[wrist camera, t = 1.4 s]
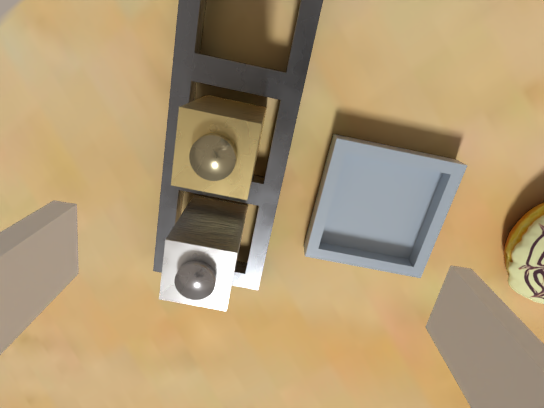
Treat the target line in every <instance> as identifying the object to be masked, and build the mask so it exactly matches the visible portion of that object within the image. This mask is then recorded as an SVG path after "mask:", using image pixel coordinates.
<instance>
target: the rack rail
mask: <svg viewBox="0 0 544 408" xmlns="http://www.w3.org/2000/svg"><path fill="white" fill-rule="evenodd" d="M322 3H323V0H301V1H300V6H299V11H298V16H297V21H296V26H295V31H294V36H293V41H292V46H291V50H290V55H289V60H288V65H287V70H286V72H282V71H277V70H273V69H268V68H263V67H259V66H254V65H250V64H245V63H240V62H236V61H231V60H227V59H222V58H217V57H213V56H208V55H203V54H200V49H201V41H202V32H203V24H204V15H205V7H206V0H179V4H178V14H177V25H176V36H175V46H174V57H173V67H172V78H171V89H170V99H169V110H168V120H167V131H166V141H165V152H164V163H163V173H162V184H161V194H160V205H159V216H158V226H157V237H156V247H155V258H154V269H153V271H156V272H161V273H162V267H163V257H164V248H165V239H166V238H167V236H168V235H169V233H170V232H171V230H172V229H173V227H174V225H175V224H176V222H177V221H178V219H179V218H180V216H181V208H182V200H183V192H184V191H186V192H191V193H196V194H202V195H207V196H212V197H217V198H222V199H227V200H232V201H237V202H242V203H248V204H253V205H258V206H259V207H258V212H257V217H256V222H255V227H254V232H253V237H252V242H251V247H250V251H249V256H248V261H247V263H245V262H239V261H237V263H236V268H235V273H234V277H233V282H232V285H233V286H238V287H244V288H249V289H255V290H258V289H259V284H260V280H261V275H262V271H263V266H264V262H265V257H266V253H267V248H268V244H269V239H270V235H271V231H272V226H273V222H274V217H275V213H276V208H277V204H278V199H279V195H280V190H281V186H282V181H283V177H284V173H285V168H286V164H287V159H288V155H289V150H290V146H291V141H292V137H293V132H294V128H295V123H296V119H297V115H298V110H299V106H300V101H301V97H302V92H303V88H304V83H305V79H306V74H307V70H308V65H309V61H310V57H311V52H312V48H313V43H314V39H315V34H316V30H317V25H318V21H319V16H320V12H321V7H322ZM197 82H199V83H204V84H208V85H213V86H218V87H223V88H227V89H232V90H237V91H241V92H246V93H251V94H255V95H260V96H265V97H270V98H274V99H279V100H280V104H279V109H278V114H277V119H276V124H275V129H274V134H273V139H272V144H271V149H270V153H269V158H268V163H267V168H266V173H265V177H261V176H256V175H253V178H252V182H251V186H250V191H249V195H248V199H247V200H244V199H239V198H234V197H228V196H223V195H218V194H213V193H208V192H203V191H198V190H193V189H188V188H182V187H177V186H172V185H171V179H172V169H173V160H174V150H175V141H176V131H177V122H178V112H179V107H180V106H182V105H185V104H187V103H189V102H192V101H194V99H195V91H196V83H197Z"/></svg>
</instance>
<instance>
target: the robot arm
mask: <svg viewBox="0 0 544 408" xmlns="http://www.w3.org/2000/svg"><path fill="white" fill-rule="evenodd" d="M77 275H78V233H77V204H73V203H67V202H61V201H55V200H54V201H52V202H50V203H49V204H47V205H45V206H44V207H42V208H40V209H39V210H37V211H35V212H33V213H32V214H30V215H28V216H27V217H25V218H23V219H22V220H20V221H18V222H17V223H15V224H13V225H12V226H10V227H8V228H7V229H5V230H3V231H2V232H0V355H1V354H2V353H3V352H4V350H5V349H6V348H7V347H8V346H9V345H10V344H11V343H12V342H13V341H14V340H15V339H16V338H17V337H18V336H19V335H20V334H21V333H22V332H23V331H24V330H25V329H26V328H27V327H28V326H29V324H30V323H31V322H32V321H33V320H34V319H35V318H36V317H37V316H38V315H39V314H40V313H41V312H42V311H43V310H44V309H45V308H46V307H47V306H48V305H49V304H50V303H51V302H52V301H53V300H54V299H55V297H56V296H57V295H58V294H59V293H60V292H61V291H62V290H63V289H64V288H65V287H66V286H67V285H68V284H69V283H70V282H71V281H72V280H73V279H74V278H75V277H76V276H77ZM426 329H427V331H428V333H429V334H430V336H431V338H432V340H433V341H434V343H435V345H436V347H437V348H438V350H439V352H440V354H441V355H442V357H443V359H444V361H445V362H446V364H447V366H448V368H449V369H450V371H451V373H452V375H453V376H454V378H455V380H456V382H457V384H458V385H459V387H460V389H461V391H462V392H463V394H464V396H465V398H466V399H467V401H468V403H469V405H470V406H471V408H544V344H543V343H542V342H541V341H540V340H539V339H538V338H537V337H536V336H535V335H534V334H533V332H532V331H531V330H530V329H529V328H528V327H527V326H526V325H525V324H524V323H523V322H522V321H521V320H520V319H519V318H518V317H517V316H516V315H515V314H514V313H513V312H512V311H511V310H510V309H509V307H508V306H507V305H506V304H505V303H504V302H503V301H502V300H501V299H500V298H499V297H498V296H497V295H496V294H495V293H494V292H493V291H492V290H491V289H490V288H489V287H488V286H487V285H486V284H485V282H484V281H483V280H482V279H481V278H480V277H479V276H478V275H477V274H476V273H475V272H474V271H473V270H472V269H470V268H464V267H458V266H452V265H451V266H450V268H449V271H448V273H447V276H446V278H445V280H444V283H443V285H442V288H441V290H440V293H439V295H438V298H437V300H436V303H435V305H434V308H433V310H432V312H431V315H430V317H429V320H428V322H427V325H426Z"/></svg>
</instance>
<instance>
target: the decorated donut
mask: <svg viewBox="0 0 544 408" xmlns="http://www.w3.org/2000/svg"><path fill="white" fill-rule="evenodd" d="M504 259H505V266H506V269H507V272H508V275H509V278H508V283H509V286H510V287H511V288H512V289H513V290H514V291H515V292H517V293H518V294H520V295H522V296H524V297H526V298H528V299H530V300H532V301H534V302H538V303H542V304H544V203H542V204H539V205H537V206H536V207H534V208H532V209H531V210H529V211H528V212H527V213H526V214H524V216H523V217H522V218H521V219H520V220H519V221H518V222H517V223H516V224H515V226H514V227H513V228H512V230H511V231H510V233H509V235H508V237H507V241H506V244H505V248H504Z"/></svg>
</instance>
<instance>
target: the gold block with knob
mask: <svg viewBox="0 0 544 408" xmlns="http://www.w3.org/2000/svg"><path fill="white" fill-rule="evenodd" d="M266 108H267V107H263V106H258V105H253V104H248V103H244V102H239V101H234V100H229V99H225V98H220V97H215V96H210V95H206V96H204V97H201V98H199V99H196V100H194V101H192V102H189V103H187V104H185V105H182V106H180V107H179V112H178V122H177V131H176V141H175V150H174V160H173V169H172V179H171V185H172V186H177V187H182V188H188V189H193V190H198V191H203V192H208V193H213V194H218V195H223V196H228V197H234V198H239V199H244V200H247V199H248V195H249V191H250V186H251V182H252V178H253V174H254V170H255V165H256V160H257V155H258V150H259V145H260V139H261V134H262V129H263V124H264V119H265V113H266Z"/></svg>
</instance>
